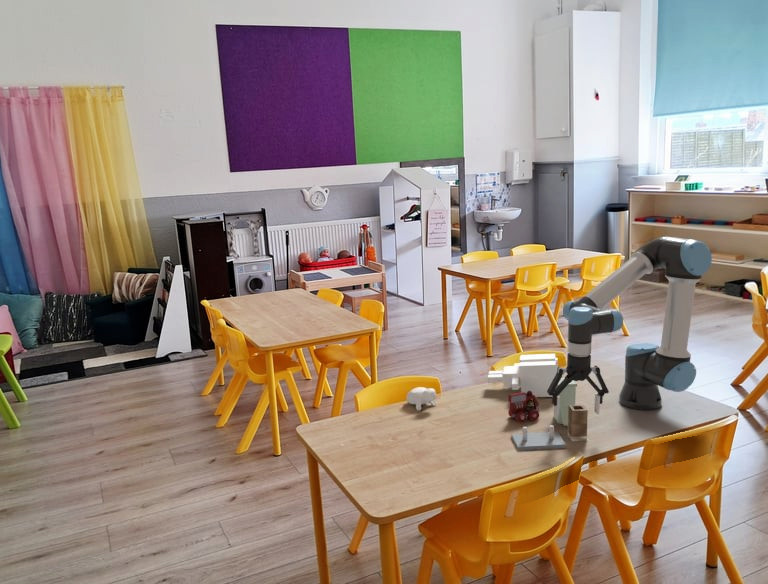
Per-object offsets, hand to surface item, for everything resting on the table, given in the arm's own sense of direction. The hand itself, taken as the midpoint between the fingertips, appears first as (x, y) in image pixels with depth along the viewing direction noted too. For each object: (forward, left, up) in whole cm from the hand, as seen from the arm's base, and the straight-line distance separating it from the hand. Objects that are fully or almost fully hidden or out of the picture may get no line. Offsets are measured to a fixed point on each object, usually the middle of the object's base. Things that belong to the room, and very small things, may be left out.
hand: (576, 413), depth 220 cm
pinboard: (+14, +2, -9) cm, 16 cm away
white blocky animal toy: (+50, -35, -9) cm, 61 cm away
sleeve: (0, 0, -9) cm, 9 cm away
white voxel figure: (+7, -45, -9) cm, 47 cm away
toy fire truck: (+14, -18, -9) cm, 25 cm away
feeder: (0, -13, -9) cm, 15 cm away
